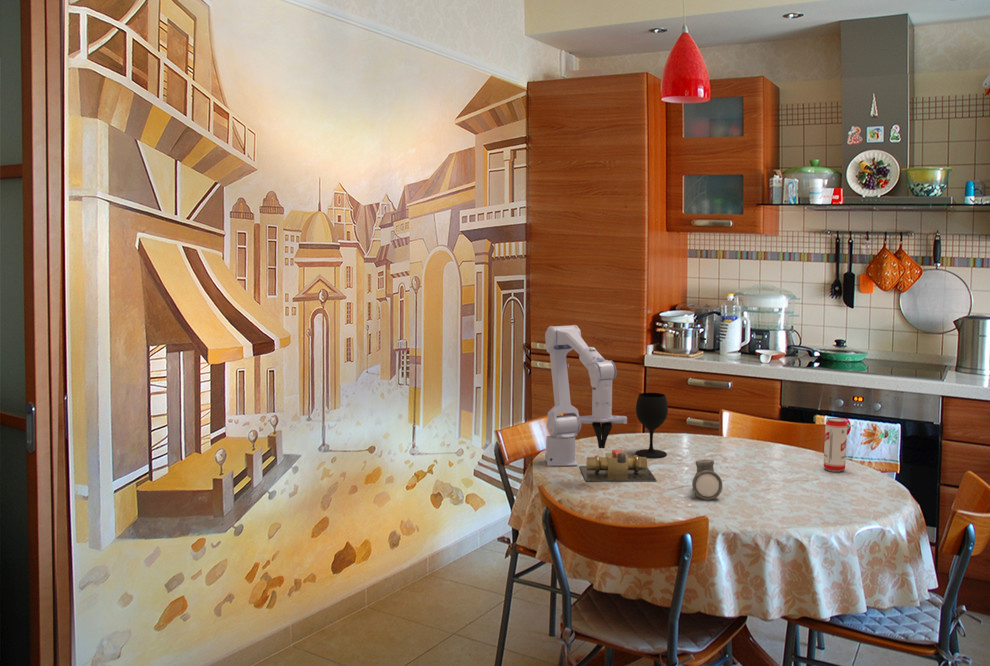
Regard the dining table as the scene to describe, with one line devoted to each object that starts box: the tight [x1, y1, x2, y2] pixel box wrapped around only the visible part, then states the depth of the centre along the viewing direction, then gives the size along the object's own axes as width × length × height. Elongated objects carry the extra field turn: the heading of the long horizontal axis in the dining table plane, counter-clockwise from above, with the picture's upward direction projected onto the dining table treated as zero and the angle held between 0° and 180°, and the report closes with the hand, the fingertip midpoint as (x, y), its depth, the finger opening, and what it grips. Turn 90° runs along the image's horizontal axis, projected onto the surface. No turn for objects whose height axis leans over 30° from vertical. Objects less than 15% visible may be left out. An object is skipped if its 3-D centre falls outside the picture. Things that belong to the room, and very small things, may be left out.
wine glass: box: [635, 392, 669, 459], centre depth 282 cm, size 10×10×20 cm
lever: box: [611, 448, 627, 463], centre depth 256 cm, size 12×3×2 cm, turn 1°
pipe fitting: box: [691, 459, 723, 501], centre depth 240 cm, size 12×8×10 cm
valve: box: [579, 452, 658, 483], centre depth 260 cm, size 21×16×6 cm
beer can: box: [823, 417, 848, 473], centre depth 263 cm, size 6×6×16 cm
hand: (601, 447), depth 251 cm, fingers closed
